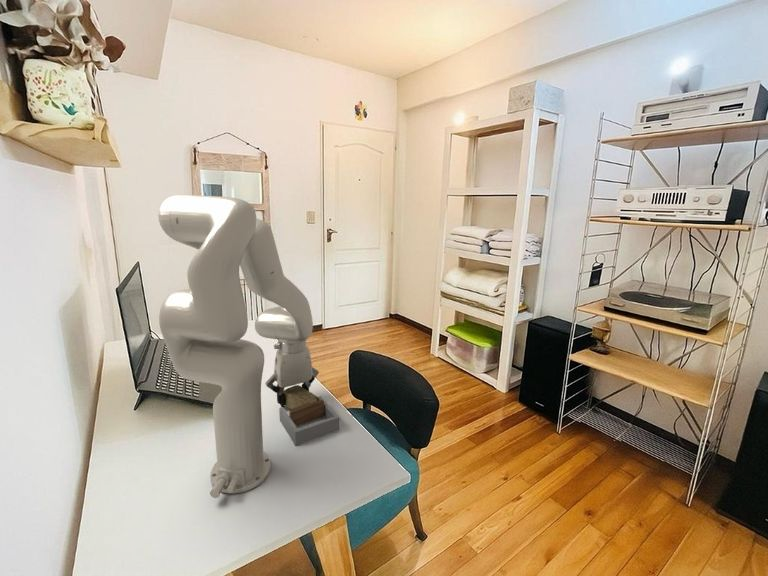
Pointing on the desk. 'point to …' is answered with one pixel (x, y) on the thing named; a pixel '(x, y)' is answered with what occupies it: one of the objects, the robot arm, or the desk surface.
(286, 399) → the stone block
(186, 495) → the desk surface
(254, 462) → the robot arm
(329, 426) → the grey open square tray
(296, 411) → the wooden board
